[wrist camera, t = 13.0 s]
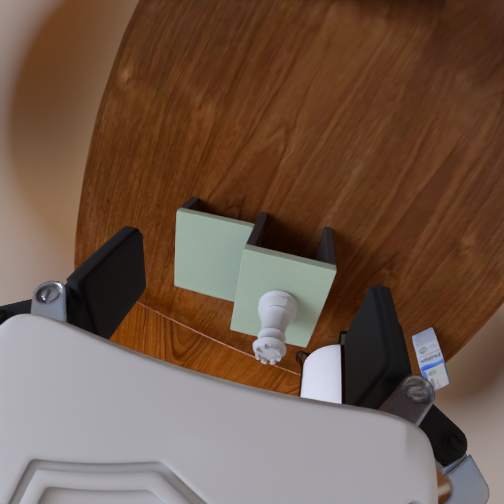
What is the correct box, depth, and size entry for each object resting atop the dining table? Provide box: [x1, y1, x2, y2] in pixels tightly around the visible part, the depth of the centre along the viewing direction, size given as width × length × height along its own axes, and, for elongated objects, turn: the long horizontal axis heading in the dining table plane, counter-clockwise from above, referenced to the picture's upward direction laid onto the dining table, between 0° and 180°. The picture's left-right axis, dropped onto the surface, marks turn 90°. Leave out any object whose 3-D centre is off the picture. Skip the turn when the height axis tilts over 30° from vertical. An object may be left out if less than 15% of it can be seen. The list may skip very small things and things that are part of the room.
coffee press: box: [296, 331, 347, 405], centre depth 38 cm, size 17×16×30 cm
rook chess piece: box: [253, 291, 298, 365], centre depth 30 cm, size 4×4×8 cm
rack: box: [175, 197, 337, 347], centre depth 38 cm, size 12×20×11 cm, turn 81°
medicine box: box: [412, 327, 450, 390], centre depth 42 cm, size 8×4×9 cm, turn 37°
